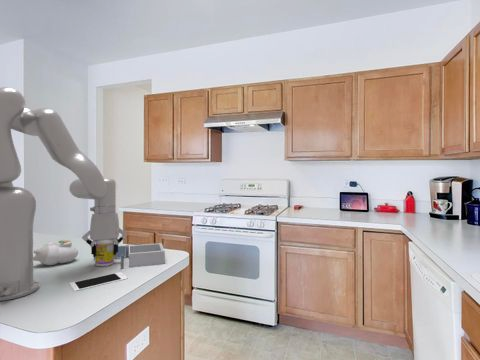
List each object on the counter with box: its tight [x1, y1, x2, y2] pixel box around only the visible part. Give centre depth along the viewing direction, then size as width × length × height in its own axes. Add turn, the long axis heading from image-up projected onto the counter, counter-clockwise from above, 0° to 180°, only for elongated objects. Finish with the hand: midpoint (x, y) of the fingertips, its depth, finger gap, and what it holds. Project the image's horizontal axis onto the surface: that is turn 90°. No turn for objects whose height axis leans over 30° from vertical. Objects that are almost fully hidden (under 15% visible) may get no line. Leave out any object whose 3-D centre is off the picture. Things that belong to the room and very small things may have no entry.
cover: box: [93, 244, 130, 261], centre depth 115 cm, size 1×13×5 cm, turn 111°
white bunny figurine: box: [33, 239, 79, 266], centre depth 108 cm, size 10×8×15 cm
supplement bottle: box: [95, 239, 115, 267], centre depth 108 cm, size 7×7×13 cm
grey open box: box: [120, 242, 166, 270], centre depth 112 cm, size 14×16×5 cm
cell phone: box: [69, 271, 128, 292], centre depth 91 cm, size 8×16×1 cm, turn 132°
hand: (105, 254), depth 108 cm, fingers closed on supplement bottle, 6 cm apart
